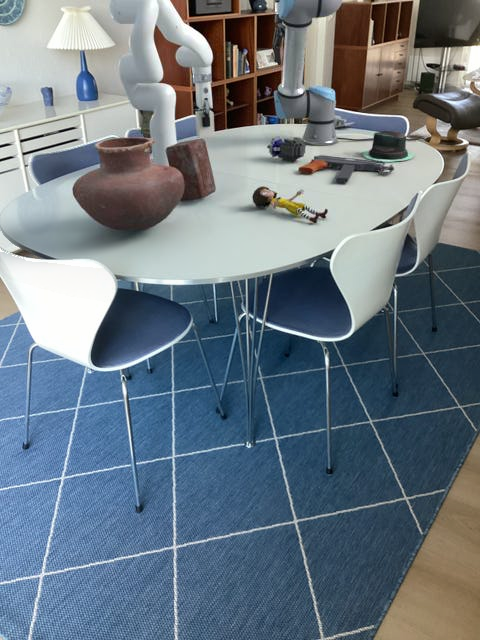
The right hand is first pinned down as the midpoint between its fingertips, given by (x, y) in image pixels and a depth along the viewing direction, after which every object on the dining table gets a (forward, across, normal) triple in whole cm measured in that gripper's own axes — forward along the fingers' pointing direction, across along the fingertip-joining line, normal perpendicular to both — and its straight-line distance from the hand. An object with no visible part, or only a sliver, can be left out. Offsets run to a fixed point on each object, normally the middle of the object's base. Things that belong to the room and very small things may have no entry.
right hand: (282, 64), depth 265 cm
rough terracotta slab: (+29, -85, +78) cm, 119 cm away
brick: (+22, -36, +48) cm, 64 cm away
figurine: (+29, -119, +44) cm, 130 cm away
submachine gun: (+29, -87, +8) cm, 92 cm away
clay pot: (+29, -116, +91) cm, 150 cm away
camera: (+29, -10, -26) cm, 41 cm away
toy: (+29, -60, +21) cm, 70 cm away
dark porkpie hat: (+29, -69, -20) cm, 78 cm away
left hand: (+18, -35, +48) cm, 63 cm away
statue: (+29, -22, +68) cm, 78 cm away
